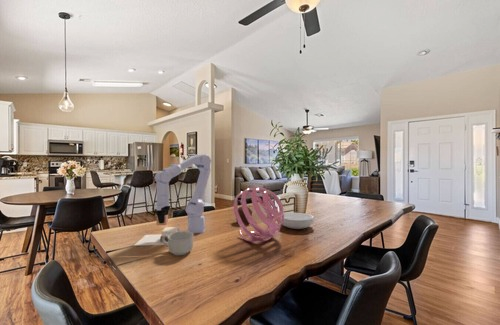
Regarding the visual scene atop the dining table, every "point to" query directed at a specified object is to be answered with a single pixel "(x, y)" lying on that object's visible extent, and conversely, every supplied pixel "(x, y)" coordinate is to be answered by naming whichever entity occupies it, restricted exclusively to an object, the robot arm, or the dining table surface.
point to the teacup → (179, 242)
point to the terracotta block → (164, 221)
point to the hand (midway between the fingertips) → (163, 221)
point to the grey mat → (150, 240)
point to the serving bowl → (297, 220)
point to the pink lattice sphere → (260, 214)
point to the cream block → (169, 230)
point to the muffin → (244, 215)
